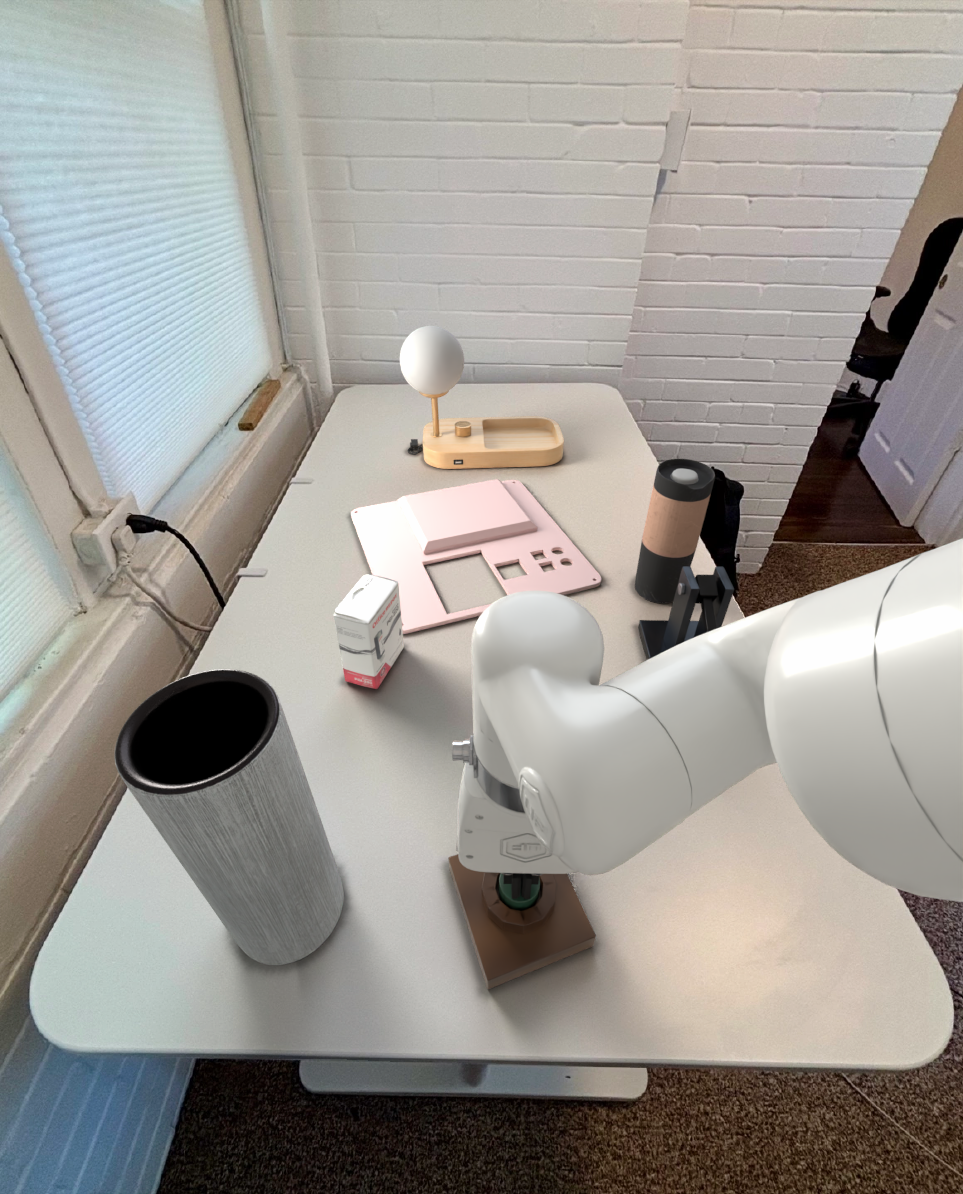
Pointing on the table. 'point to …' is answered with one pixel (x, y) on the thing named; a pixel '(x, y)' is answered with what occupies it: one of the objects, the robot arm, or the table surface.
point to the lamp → (470, 441)
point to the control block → (520, 924)
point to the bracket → (684, 614)
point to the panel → (467, 545)
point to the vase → (235, 809)
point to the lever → (707, 599)
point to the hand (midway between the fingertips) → (520, 881)
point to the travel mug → (672, 526)
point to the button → (520, 901)
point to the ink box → (369, 630)
